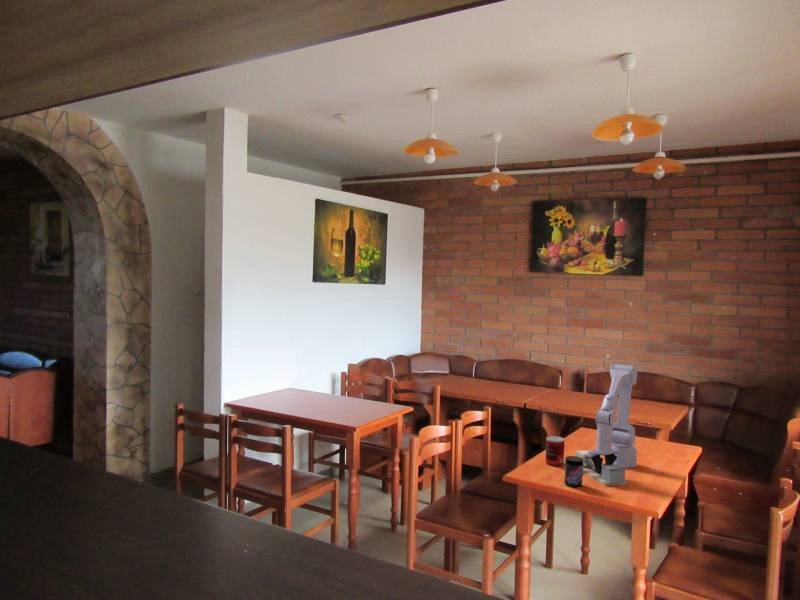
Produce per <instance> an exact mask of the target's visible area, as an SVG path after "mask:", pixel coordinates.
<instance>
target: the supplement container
mask: <svg viewBox="0 0 800 600" xmlns="http://www.w3.org/2000/svg"><path fill="white" fill-rule="evenodd" d="M564 461H565V462H564V464H565V465H564V484H565V486H567V487H569V488H575V489H576V488H577V487H578V488H581V487H582V486H583V479H584V478H583V475H584V473H583V458H581V457H577V456H576V455H566V456H564Z"/></svg>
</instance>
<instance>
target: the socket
mask: <svg viewBox="0 0 800 600" xmlns="http://www.w3.org/2000/svg"><path fill="white" fill-rule="evenodd" d="M625 478H626V468H623V467H621V466H619V465H617V464H616V465H602V479H603V480H605V481H606V482H608V483H621V482H625V481H626V479H625Z"/></svg>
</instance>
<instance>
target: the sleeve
mask: <svg viewBox="0 0 800 600" xmlns="http://www.w3.org/2000/svg"><path fill="white" fill-rule="evenodd" d="M591 450H592V449H591ZM591 450H576V451H575V456H577V457H581V458H583V467H584V461H585V456H587V454H588V451H591Z"/></svg>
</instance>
